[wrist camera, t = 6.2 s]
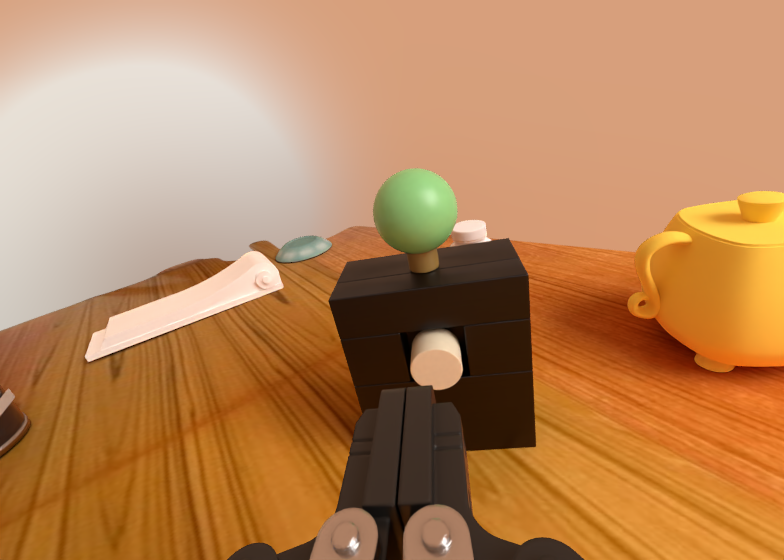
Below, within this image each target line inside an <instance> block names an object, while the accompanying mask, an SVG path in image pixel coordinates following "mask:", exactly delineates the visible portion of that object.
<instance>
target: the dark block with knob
mask: <svg viewBox="0 0 784 560" xmlns="http://www.w3.org/2000/svg"><path fill="white" fill-rule="evenodd" d="M373 216H374V222H375V225H376V228H377V230H378V232H379V234H380V236H381V237H382V238H383V239H384V241H385V242H386V243H388V244H389V245H390V246H391V247H393V248H394V249H396V250H399V251H401V252H404V253H405V254H399V255H392V256H385V257H378V258H371V259H365V260H358V261H351V262H347V263H346V265H345V267H344V269H343V271H342V274H341V276H340V278H339V280H338V282H337V284H336V286H335V288H334V290H333V292H332V294H331V297H330V299H329V304H330V307H331V311H332V314H333V317H334V320H335V324H336V327H337V330H338V334H339V337H340V339H341V343H342V347H343V350H344V353H345V357H346V360H347V363H348V366H349V370H350V373H351V376H352V380H353V383H354V386H355V390H356V393H357V396H358V400H359V403H360V406H361V410H362V413H364V411H365V410H366V409H375V408H378V407H379V401H380V395H381V391H382V390H385V389H395V388H408V387H416V386H421V385H419V384H418V383H417V382H416V381H415V380H414V378H413V377H412V375H411V371H410V365H411V351H412V342H413V340H414V338H415V336H416V335H417V334H418V333H420V332H421V331H423V330H430V329H438V328H443V329H446V330H448V331H450V332H452V333H453V334H454V335H455V336H456V337H457V339H458V341H459V344H460V351H461V360H462V369H463V371H462V375H461V377H460V379H459V381H458V382H457V383H456V384H454V385H453V386H451V387H449V388H446V389H442V390H434V395H435V400H436V403H445V402H452V403H453V405H454V406H455V408H456V409H457V411H458V412H459V414H460V417H461V423H462V429H463V435H464V441H465V447H466V451H468V450H485V449H502V448H519V447H535V446H536V436H535V413H534V390H533V371H532V369H533V368H532V345H531V323H530V301H529V278H528V273H527V271H526V270H525V268H524V266H523V264H522V262H521V260H520V258H519V256H518V255H517V253H516V251H515V249H514V247H513V245H512V244H511V242H510V240H509V238H507V239H500V240H493V241H487V242H480V243H473V244H466V245H460V246H453V247H446V248H439V249H437V247H438V246H440V245H441V244H442V243H443V242H445V241H446V240H447V238H448V237H449V236H450V234H451V232H452V231H453V229H454V226H455V223H456V219H457V202H456V198H455V196H454V193H453V191H452V189H451V188H450V186H449V185H448V183H447V182H446V181H445V180H444V179H442V178H441V177H440V176H439V175H437V174H435V173H433V172H431V171H428V170H424V169H416V168H415V169H407V170H403V171H400V172H398V173H396V174H394V175H393V176H391V177H390V178H389V179H387V181H385V182H384V184H383V185H382V186H381V188H380V189H379V191H378V193H377V196H376V198H375V202H374V208H373Z"/></svg>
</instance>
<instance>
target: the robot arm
mask: <svg viewBox="0 0 784 560" xmlns="http://www.w3.org/2000/svg"><path fill="white" fill-rule="evenodd" d="M14 398H15V396H14V395H13V394H12V392H11V391H10V390H9V389H8V390H7V391H6V392H5V390H4V389H3V388H2V387H1V386H0V457H1V456H2V455H4V454H5V453H6V452H7V451H9V450H10V449H11V448H12V447H13V446H14V445H16V444H17V443H18V442H19V441H20V440H21V439H22V437H23V436H24V435H25V434H26V432H27V431H28V429H29V427H30V424H31V422H30V419H29V418H28V417H27V416H26V414H25V413H23V412H21V411H20V409H19V408H18V407H17V406H16V404H15V403H14V402H13V399H14ZM352 440H353V443H352V444H351V448H350V452H349V453H350V456H349V457H348V461H347V466H346V470H345V474H344V479H343V483H342V487H341V492H340V496H339V501H338V505H337V509H336V512H335V514H334V515H332V516H331V517H330V518H329V519H328V520H327V521H326V522H325V523H324V524H323V526H322V527H321V529H320V531H319V533H318V535H317V537H315V538H314V539H312V540H311V541H309V542H307V543H305V544H302V545H300V546H297V547H294V548H292V549H289V550H287V551H284V552H282V553H279V554H276V552H275V551H274V549H273V548H272V547H271V546H269V545H268V544H265V543H253V544H250V545H247V546H245V547H243V548H241V549H239V550H238V551H236V552H235V553H234V554H233V555H232V556H230V557H229V558H228V559H227V560H584V559H583V558H582V557H581V556H580V555H579V554H577V553H576V552H575V551H574V550H573V549H571V548H570V547H569V546H567V545H566V544H564V543H562V542H560V541H557V540H555V539H551V538H543V537H541V538H534V539H530V540H528V541H526V542H525V543H523V544H522V545H518V544H515V543H512V542H509V541H506V540H503V539H500V538H497V537H495V536H493V535H491V534H490V533H488V532H487V531H485V530H484V529H483V528H482V527H481V526H480V525H479V524H478V523H477V521H476V520H475V519H474V517H473V512H472V502H471V492H470V482H469V473H468V463H467V453H466V447H465V441H464V435H463V429H462V423H461V417H460V414H459V412H458V411H457V409H456V408H455V406H454V405H453V403H452V402H445V403H436V400H435V395H434V390H433V386H432V385H426V386H416V387H408V388H395V389H385V390H382V391H381V395H380V401H379V407H378V408H375V409H366V410H365V411H364V413H363V414H362V416H361V417H360V419H359V420H358V421H357V423H356V426H355V430H354V435H353V439H352Z"/></svg>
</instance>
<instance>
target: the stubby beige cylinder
mask: <svg viewBox="0 0 784 560" xmlns="http://www.w3.org/2000/svg"><path fill="white" fill-rule="evenodd" d="M410 371H411V375H412V377H413V378H414V380H415V381H416V382H417V383H418V384H419V385H421V386H426V385H432V386H433V390H442V389H446V388H449V387H451V386H453V385H454V384H456V383H457V382H458V381H459V379H460V377H461V375H462V371H463V369H462V360H461V351H460V344H459V341H458V339H457V337H456V336H455V335H454V334H453V333H452V332H450V331H448V330H446V329H443V328H438V329H430V330H423V331H421V332H420V333H418V334H417V335H416V336H415V338H414V340H413V342H412V351H411V365H410Z"/></svg>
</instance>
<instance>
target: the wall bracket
mask: <svg viewBox="0 0 784 560" xmlns="http://www.w3.org/2000/svg"><path fill="white" fill-rule="evenodd" d="M282 288H284V287H283V284H282V282H281V279H280V276H279V272H278V270H277V268H276V267H275V266H274V265H273V264H272V263H271V262H270V261H269V260H268V259H267V258H266V257H265V256H264V255H263V254H261V253H260V252H256V251H251V252H248V253H246V254H244V255H243V256H242V257H241V258H239V260H237V261H236V262H234V263H233V264H231V265H230V266H229V267H227V268H226V269H224V270H223V271H221V272H219V273H218V274H216V275H214V276H213V277H211V278H209V279H207V280H205V281H203V282H201V283H199V284H197V285H195V286H193V287H191V288H189V289H186V290H184V291H181V292H179V293H176V294H173V295H171V296H168V297H165V298H162V299H160V300H157V301H154V302H151V303H149V304H146V305H143V306H141V307H138V308H135V309H132V310H130V311H127V312H124V313H121V314H119V315H116V316H113V317H110V319H109V322H108V325H107V326H106V329H103V330H101V331H98V332H95V333H93V336H92V338H91V341H90V344H89V347H88V350H87V352H86V355H85V358H86V359H87V361H88V362H90V361H92V360H95V359H98V358H100V357H103V356H106V355H108V354H111V353H114V352H116V351H119V350H121V349H124V348H127V347H129V346H132V345H135V344H137V343H140V342H142V341H145V340H148V339H150V338H153V337H156V336H158V335H161V334H163V333H166V332H169V331H171V330H174V329H177V328H179V327H182V326H184V325H187V324H190V323H192V322H195V321H198V320H200V319H203V318H206V317H208V316H211V315H213V314H216V313H219V312H221V311H224V310H227V309H229V308H232V307H234V306H237V305H240V304H242V303H245V302H248V301H250V300H253V299H255V298H258V297H261V296H263V295H266V294H269V293H271V292H274V291H277V290H279V289H282Z"/></svg>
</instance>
